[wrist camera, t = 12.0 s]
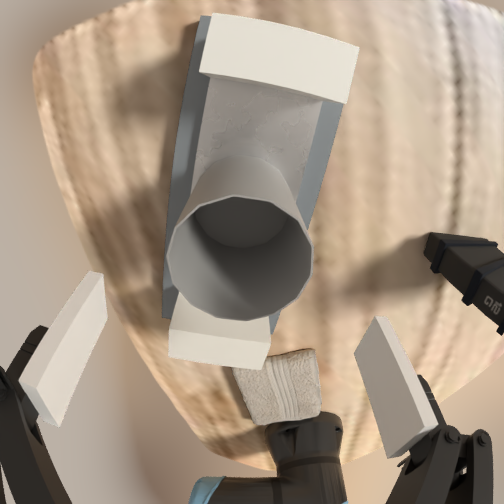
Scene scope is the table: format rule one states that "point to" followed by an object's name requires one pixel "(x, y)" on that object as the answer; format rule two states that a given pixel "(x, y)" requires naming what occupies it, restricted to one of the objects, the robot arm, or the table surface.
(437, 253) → the black ribbed block
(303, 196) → the rail board
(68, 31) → the table surface
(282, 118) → the steel rail
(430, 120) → the table surface
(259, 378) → the washcloth
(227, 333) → the module
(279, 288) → the cup
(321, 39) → the block
